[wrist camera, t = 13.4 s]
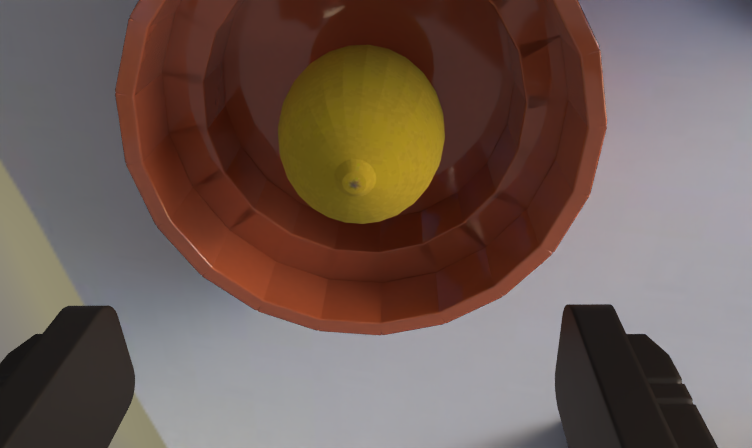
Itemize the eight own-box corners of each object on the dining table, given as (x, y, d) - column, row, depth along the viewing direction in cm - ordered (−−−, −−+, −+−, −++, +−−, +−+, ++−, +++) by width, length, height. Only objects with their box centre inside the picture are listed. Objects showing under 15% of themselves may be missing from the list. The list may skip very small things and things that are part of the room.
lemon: (285, 140, 26) (242, 242, 19) (313, 4, 23) (276, 63, 16) (415, 174, 26) (420, 285, 19) (458, 45, 24) (481, 119, 17)
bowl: (438, -236, 20) (450, -272, 15) (623, 145, 26) (678, 214, 21) (95, 27, 24) (12, 70, 19) (321, 300, 30) (305, 390, 25)
